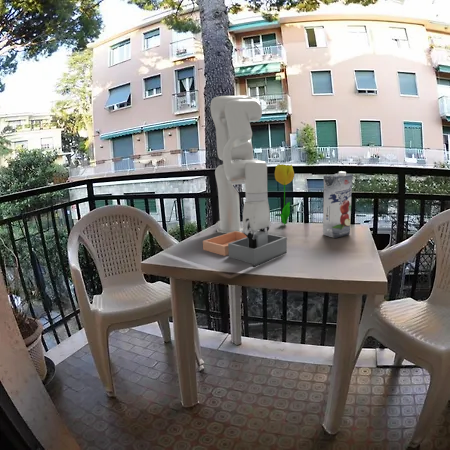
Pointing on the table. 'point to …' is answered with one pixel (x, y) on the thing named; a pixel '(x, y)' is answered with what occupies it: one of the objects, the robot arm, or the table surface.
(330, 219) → the juice carton
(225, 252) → the trough
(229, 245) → the bin
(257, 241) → the block
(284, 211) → the flower
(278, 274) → the table surface
